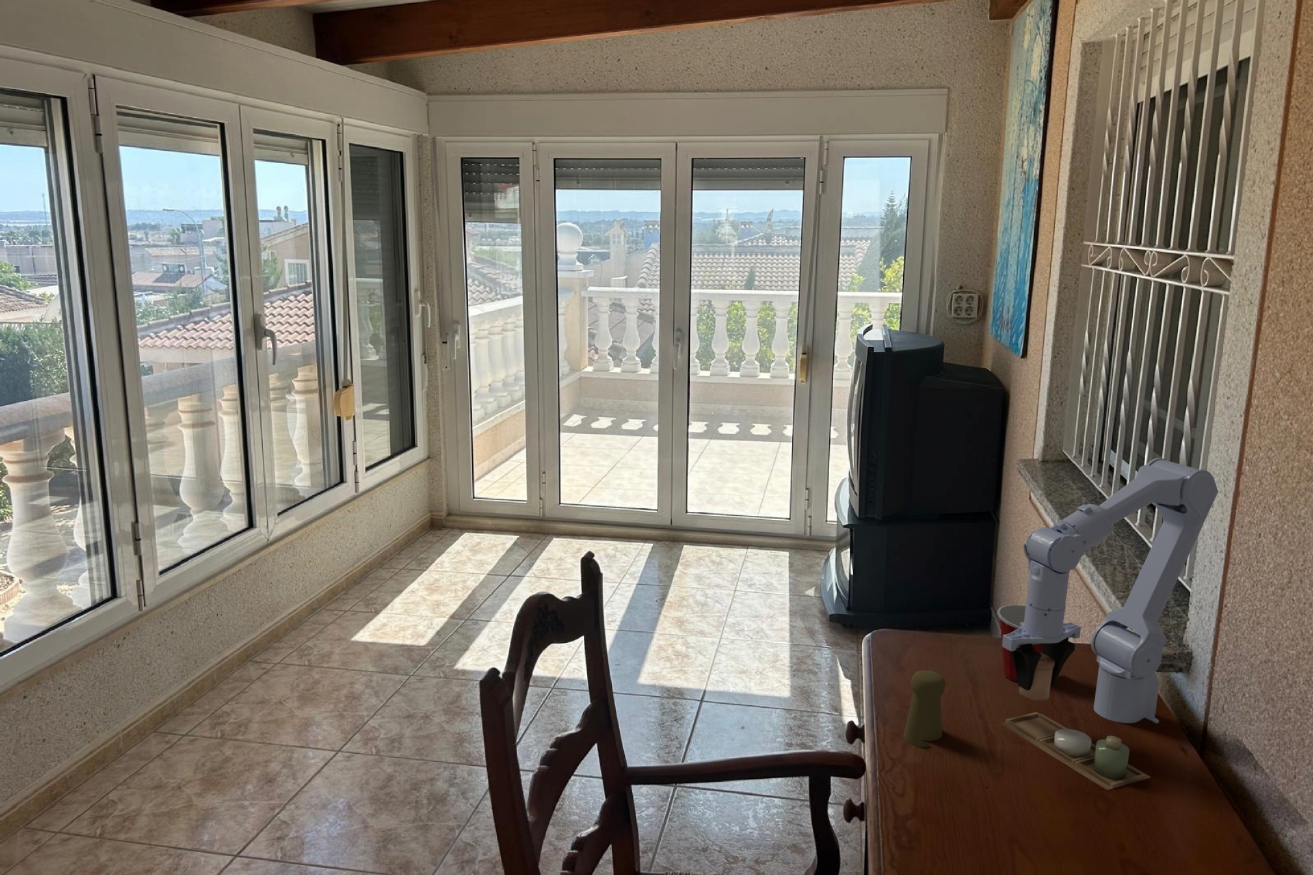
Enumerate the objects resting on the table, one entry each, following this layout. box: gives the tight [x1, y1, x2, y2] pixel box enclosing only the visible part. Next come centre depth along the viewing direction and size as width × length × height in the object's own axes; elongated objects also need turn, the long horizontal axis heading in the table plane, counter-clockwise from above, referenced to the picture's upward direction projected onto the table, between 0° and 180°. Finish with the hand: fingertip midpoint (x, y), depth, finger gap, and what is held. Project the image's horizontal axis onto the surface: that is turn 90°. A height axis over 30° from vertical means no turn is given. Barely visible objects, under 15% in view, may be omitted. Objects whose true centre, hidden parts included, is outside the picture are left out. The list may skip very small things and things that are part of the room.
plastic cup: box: [996, 604, 1042, 682], centre depth 178 cm, size 11×11×12 cm
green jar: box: [1093, 735, 1130, 779], centre depth 145 cm, size 4×4×5 cm
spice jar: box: [1018, 653, 1055, 701], centre depth 157 cm, size 5×5×7 cm
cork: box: [903, 669, 946, 749], centre depth 155 cm, size 6×6×11 cm
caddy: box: [999, 711, 1152, 791], centre depth 152 cm, size 9×21×2 cm, turn 25°
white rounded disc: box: [1054, 728, 1093, 758], centre depth 152 cm, size 5×5×2 cm
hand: (1036, 684), depth 157 cm, fingers closed on spice jar, 5 cm apart
